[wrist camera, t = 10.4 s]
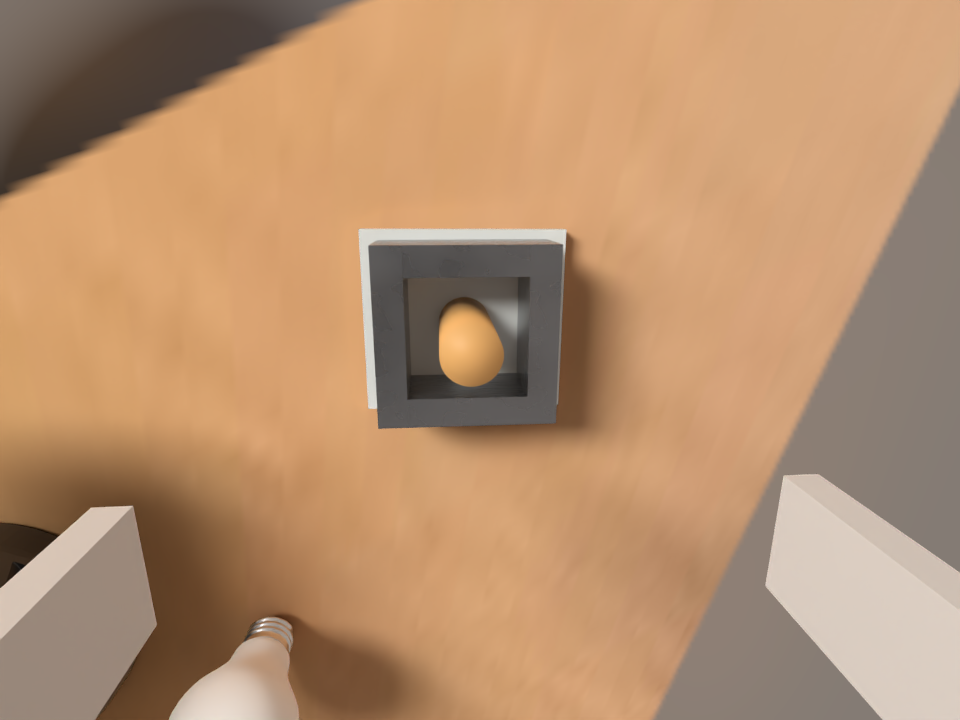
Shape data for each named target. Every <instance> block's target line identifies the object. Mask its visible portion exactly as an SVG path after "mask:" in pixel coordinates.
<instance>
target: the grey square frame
mask: <svg viewBox="0 0 960 720" xmlns="http://www.w3.org/2000/svg"><path fill="white" fill-rule="evenodd" d="M368 253H369V270H370V288H371V306H372V324H373V341H374V359H375V377H376V395H377V412H378V429H382V428H416V427H450V426H483V425H517V424H551V423H556V406H557V382H558V357H559V333H560V308H561V284H562V259H563V244H561V243H557V242H554V241H551V240H548V239H456V240H376V241H375V242H373V243H371V244H370V245H368ZM470 277H518V319H517V372H516V373H498V374H497V375H496V376H495V377H494V378H493V379H492V380H491V381H489V382H487V383H485V384H483V385H480V386H475V387H467V386H462V385H459V384H457V383H455V382H453V381H452V380H451V379H449V378H448V377H447V376H446V374H444V375H411V355H410V328H409V301H408V278H470Z"/></svg>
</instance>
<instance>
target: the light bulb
mask: <svg viewBox="0 0 960 720" xmlns="http://www.w3.org/2000/svg"><path fill="white" fill-rule="evenodd" d="M292 646H293V628H292V625H291V624H290V623H289V622H287V621H286V620H284V619H281V618H279V617H270V616H268V617H264V618H261V619H258V620H257V621H256V622H254V623H253V624H252V625H251V626H250V628H249V630H248V631H247V634H246V636H245V639H244V641H243V642H242V644H241V645H240V646H239V647H238V648H237V649H236V651H235V652H234V654H233V655H232V657H231V659H230V660H229V661H228V662H227V663H225V664H224V665H222V666H221V667H219V668H218V669H216V670H214V671H212V672H211V673H209V674H207V675H206V676H204V677H203V678H201V679H200V680H199V681H198V682H196V683H195V684H194V685H193V686H192V687H191V688H190V689H189V690H188V691H187V692H186V693H185V694H184V695H183V697H182V698H181V699H180V701H179V702H178V704H177V705H176V707H175V708H174V710H173V711H172V713H171V715H170V718H169V720H299V709H298V704H297V701H296V698H295V695H294V693H293V690H292V688H291V685H290V683H289V680H288V670H289V665H290V658H289V656H290V655H289V653H290V652H291V647H292Z"/></svg>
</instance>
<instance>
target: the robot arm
mask: <svg viewBox="0 0 960 720" xmlns="http://www.w3.org/2000/svg"><path fill="white" fill-rule="evenodd" d="M766 587H767V589H768V590H769V591H770V592H771V593H772V594H773V595H774V596H775V598H776V599H777V600H778V601H779V602H780V603H781V604H782V606H783V607H784V608H785V609H786V610H787V611H788V612H789V614H790V615H791V616H792V617H793V618H794V619H795V620H796V622H797V623H798V624H799V625H800V626H801V627H802V628H803V629H804V631H806V633H807V634H808V635H809V636H810V638H811V639H812V640H813V641H814V642H815V643H816V644H817V645H818V647H819V648H820V649H821V650H822V651H823V652H824V653H825V655H826V656H827V657H828V658H829V659H830V660H831V661H832V663H833V664H834V665H835V666H836V667H837V668H838V669H839V671H840V672H841V673H842V674H843V675H844V676H845V677H846V679H847V680H848V681H849V682H850V683H851V684H852V685H853V686H854V688H855V689H856V690H857V691H858V692H859V693H860V695H861V696H862V697H863V698H864V699H865V700H866V701H867V702H868V704H869V705H870V706H871V707H872V708H873V709H874V710H875V712H876V713H877V714H878V715H879V716H880V717H881V718H882V720H960V572H958V571H957V570H955V569H954V568H952V567H951V566H949V565H948V564H947V563H945V562H944V561H942V560H941V559H939V558H938V557H937V556H935V555H934V554H932V553H931V552H929V551H928V550H926V549H925V548H924V547H922V546H921V545H919V544H918V543H916V542H915V541H913V540H912V539H911V538H909V537H908V536H906V535H905V534H903V533H902V532H901V531H899V530H898V529H896V528H895V527H893V526H892V525H890V524H889V523H887V522H886V521H885V520H883V519H882V518H880V517H879V516H878V515H876V514H875V513H873V512H872V511H870V510H869V509H868V508H866V507H865V506H863V505H862V504H860V503H859V502H857V501H856V500H855V499H853V498H852V497H850V496H849V495H847V494H846V493H845V492H843V491H842V490H840V489H839V488H837V487H836V486H834V485H833V484H832V483H830V482H829V481H827V480H826V479H824V478H823V477H821V476H820V475H819V474H807V475H786V476H784V477H783V483H782V489H781V495H780V501H779V507H778V513H777V519H776V525H775V531H774V537H773V544H772V549H771V555H770V561H769V567H768V573H767V579H766ZM156 626H157V622H156V617H155V612H154V607H153V602H152V597H151V592H150V587H149V582H148V577H147V572H146V567H145V562H144V557H143V552H142V547H141V542H140V537H139V532H138V527H137V522H136V517H135V512H134V507H133V506H117V507H95V508H90V509H89V510H88V511H87V512H86V513H85V514H83V515H82V516H81V517H80V518H79V519H78V520H77V521H76V522H74V523H73V524H72V525H71V526H70V527H69V528H68V529H67V530H65V531H64V532H63V533H62V534H61V535H60V536H59V537H57V536H54V535H52V534H49V533H46V532H43V531H40V530H37V529H33V528H29V527H25V526H19V525H14V524H5V523H0V720H96V719H97V718H98V717H99V715H100V714H101V713H102V712H103V711H104V710H105V708H106V707H107V706H108V705H109V703H110V702H111V700H112V699H113V697H114V696H115V694H116V693H117V691H118V690H119V688H120V687H121V685H122V684H123V682H124V681H125V679H126V678H127V676H128V675H129V673H130V671H131V669H132V667H133V665H134V662H135V659H136V656H137V655H138V653H139V652H140V650H141V649H142V647H143V646H144V644H145V642H146V641H147V639H148V638H149V636H150V635H151V633H152V632H153V630H154V629H155V627H156Z"/></svg>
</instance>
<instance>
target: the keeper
mask: <svg viewBox="0 0 960 720" xmlns="http://www.w3.org/2000/svg"><path fill="white" fill-rule="evenodd" d="M456 239H548V240H551V241H554V242H557V243H561V244H563V259H562V284H561V308H560V333H559V357H558V382H557V405H558V396H559V375H560V354H561V333H562V312H563V291H564V269H565V248H566V229H374V228H361V229H359V246H360V264H361V282H362V300H363V319H364V337H365V355H366V373H367V391H368V409H377V395H376V377H375V359H374V341H373V324H372V306H371V288H370V270H369V253H368V245H370V244H371V243H373V242H375V241H376V240H456ZM408 301H409V328H410V355H411V375H444V374H446V376H447V377H448V378H449V379H451V380H452V381H453V382H455V383H457V384H459V385H462V386H467V387H475V386H480V385H483V384H485V383H487V382H489V381H491V380H492V379H493V378H494V377H495V376H496V375H497V374H498V373H516V372H517V319H518V277H470V278H408Z"/></svg>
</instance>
